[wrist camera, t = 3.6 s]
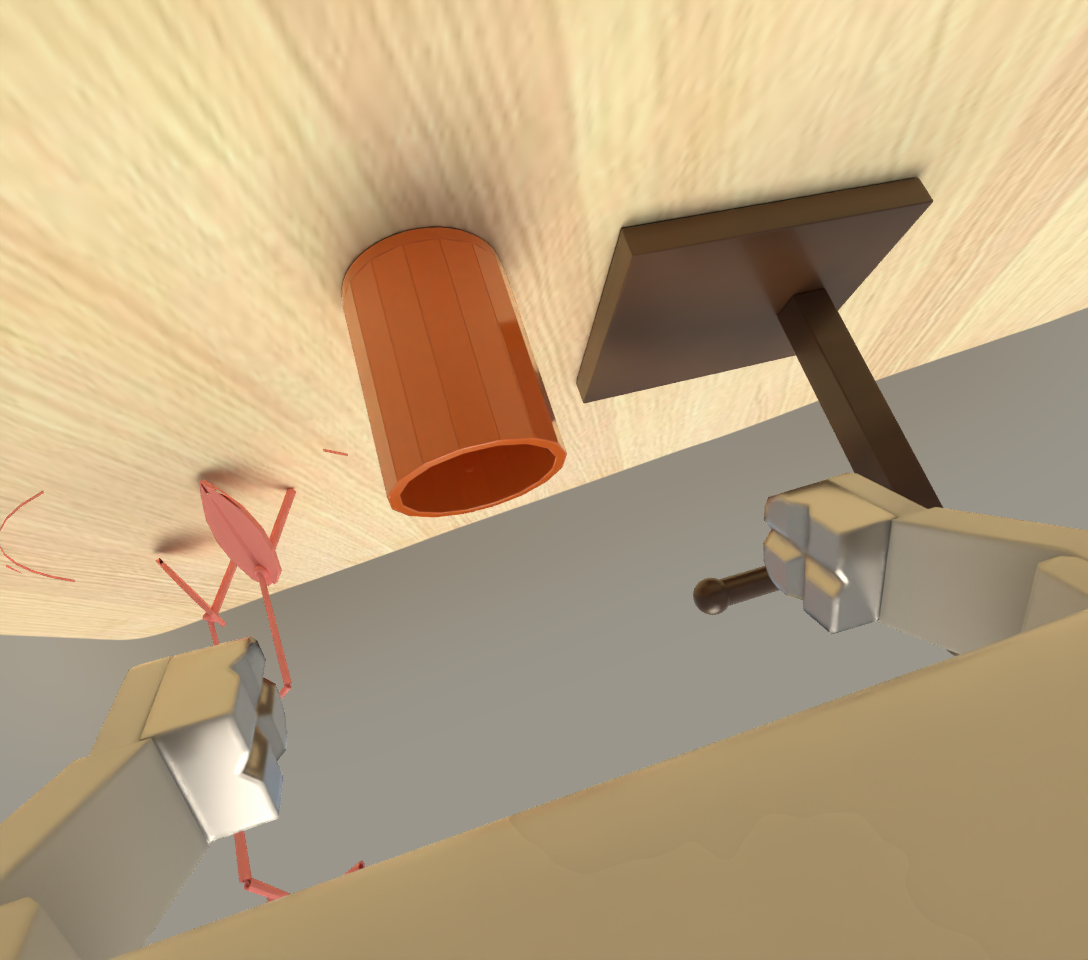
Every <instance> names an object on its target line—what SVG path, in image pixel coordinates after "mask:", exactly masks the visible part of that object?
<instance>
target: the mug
mask: <svg viewBox="0 0 1088 960" xmlns="http://www.w3.org/2000/svg"><path fill="white" fill-rule="evenodd" d="M342 301H343V309H344V313H345V317H346V322H347V326H348V330H349V335H350V339H351V343H352V348H353V352H354V356H355V361H356V365H357V369H358V373H359V378H360V382H361V386H362V391H363V395H364V399H365V404H366V408H367V412H368V417H369V421H370V425H371V430H372V434H373V438H374V443H375V447H376V451H377V455H378V460H379V464H380V468H381V473H382V477H383V481H384V486H385V490H386V494H387V498H388V500H389V503H390V506H391V508H392V509H393V510H395V511H398V512H400V513H403V514H405V515H408V516H419V517H441V516H449V515H458V514H464V513H469V512H474V511H477V510H481V509H485V508H489V507H492V506H496V505H498V504H501V503H504V502H506V501H509V500H511V499H514V498H516V497H519V496H522V495H524V494H526V493H527V492H529V491H531V490H533V489H534V488H536V487H538V486H540V485H541V484H543V483H545V482H546V481H548V480H549V479H550V478H551V477H552V476H553V475H554V474H556V473H557V472H558V471H559V470H560V469H561V468H562V467H563V464H564V461H565V458H566V455H567V452H566V449H565V446H564V443H563V440H562V437H561V434H560V431H559V428H558V425H557V422H556V419H555V416H554V414H553V411H552V408H551V405H550V402H549V399H548V396H547V393H546V390H545V387H544V384H543V381H542V378H541V375H540V372H539V369H538V366H537V363H536V360H535V358H534V355H533V352H532V349H531V346H530V343H529V340H528V337H527V334H526V331H525V328H524V325H523V322H522V319H521V316H520V313H519V310H518V307H517V305H516V302H515V299H514V296H513V293H512V290H511V287H510V284H509V281H508V278H507V275H506V273H505V271H504V270H503V267H502V264H501V261H500V259H499V257H498V255H497V253H496V252H495V251H494V249H493V248H492V247H491V246H490V245H489V244H488V243H487V242H485V241H484V240H482V239H481V238H479V237H477V236H475V235H473V234H471V233H468V232H465V231H462V230H457V229H452V228H442V227H433V228H421V229H414V230H410V231H405V232H402V233H399V234H396V235H393V236H391V237H388V238H386V239H383V240H382V241H380V242H378V243H376V244H374V245H373V246H371V247H370V248H369V249H367V250H366V251H364V252H363V253H362V254H361V255H360V256H359V257H358V258H357V259H356V260H355V261H354V262H353V264H352V265H351V266H350V268H349V269H348V271H347V273H346V275H345V278H344V280H343V284H342Z"/></svg>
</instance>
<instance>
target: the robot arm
mask: <svg viewBox="0 0 1088 960" xmlns="http://www.w3.org/2000/svg"><path fill="white" fill-rule="evenodd" d="M764 521H765V522H766V523H767V524H768V525H769V526H770V527H771V529H772V530H771V532H770V533H769V535H768V537H767V538H766V540H765V542H764V543H763V544H764V563H765V566H766V569H767V572H768V574H769V577H770V578H771V580H772V581H773V582H774V584H775V585H776V587H778V588H779V589H780V590H781V591H782V592H783V593H784V594H785V595H788V596H791V597H795V598H798V599H801V600H803V609H804V611H805V612H806V613H807V614H809V615H810V616H811V617H812V618H813V619H814V620H816V621H817V622H818V623H819V624H820V625H821V626H823V627H824V628H825V629H826V630H827V631H828V632H830V633H831V634H835V633H838V632H841V631H845V630H848V629H851V628H855V627H858V626H861V625H865V624H868V623H872V622H875V621H878V620H879V623H881V624H884V625H886V626H889V627H891V628H894V629H896V630H899V631H902V632H904V633H906V634H909V635H912V636H914V637H917V638H919V639H922V640H924V641H927V642H929V643H932V644H934V645H937V646H940V647H942V648H945V649H947V650H950V651H952V652H955V653H957V654H960V655H958V656H955V657H952V658H949V659H947V660H944V661H941V662H938V663H935V664H933V665H930V666H927V667H924V668H921V669H919V670H916V671H913V672H910V673H907V674H904V675H902V676H899V677H896V678H893V679H890V680H888V681H885V682H882V683H879V684H876V685H874V686H871V687H868V688H865V689H862V690H860V691H857V692H854V693H851V694H848V695H845V696H843V697H840V698H837V699H834V700H831V701H829V702H826V703H823V704H820V705H818V706H815V707H812V708H809V709H806V710H803V711H801V712H798V713H795V714H792V715H789V716H786V717H784V718H781V719H778V720H775V721H772V722H770V723H767V724H764V725H761V726H758V727H756V728H753V729H750V730H747V731H745V732H742V733H739V734H736V735H733V736H731V737H728V738H726V739H723V740H719V741H717V742H714V743H711V744H708V745H706V746H703V747H700V748H697V749H694V750H692V751H689V752H686V753H683V754H681V755H678V756H675V757H672V758H669V759H667V760H664V761H661V762H658V763H656V764H653V765H650V766H647V767H645V768H642V769H639V770H636V771H633V772H630V773H628V774H625V775H622V776H619V777H617V778H614V779H611V780H608V781H606V782H603V783H600V784H597V785H594V786H592V787H589V788H586V789H583V790H581V791H578V792H575V793H572V794H569V795H567V796H564V797H561V798H559V799H555V800H553V801H550V802H547V803H545V804H541V805H539V806H536V807H533V808H530V809H528V810H525V811H522V812H519V813H516V814H514V815H511V816H508V817H505V818H502V819H500V820H497V821H494V822H491V823H488V824H486V825H483V826H480V827H477V828H474V829H472V830H469V831H466V832H463V833H460V834H458V835H455V836H452V837H449V838H447V839H444V840H441V841H438V842H435V843H432V844H430V845H427V846H424V847H421V848H418V849H416V850H413V851H410V852H407V853H404V854H402V855H399V856H396V857H393V858H391V859H388V860H385V861H382V862H379V863H376V864H374V865H371V866H368V867H365V868H362V869H360V870H357V871H354V872H351V873H348V874H346V875H343V876H340V877H337V878H334V879H332V880H329V881H326V882H323V883H320V884H318V885H315V886H312V887H309V888H307V889H304V890H301V891H298V892H296V893H292V894H290V895H287V896H284V897H281V898H278V899H276V900H273V901H270V902H267V903H265V904H262V905H259V906H256V907H253V908H250V909H248V910H245V911H242V912H239V913H236V914H234V915H231V916H228V917H226V918H223V919H220V920H217V921H214V922H211V923H208V924H206V925H203V926H200V927H197V928H194V929H192V930H189V931H186V932H183V933H180V934H178V935H175V936H172V937H169V938H167V939H164V940H161V941H158V942H155V943H152V944H150V945H147V946H144V944H145V943H146V941H147V940H148V938H149V936H150V935H151V934H152V932H153V931H154V929H155V927H156V926H157V925H158V923H159V922H160V920H161V918H162V917H163V915H164V914H165V913H166V911H167V910H168V908H169V907H170V905H171V904H172V902H173V901H174V899H175V897H176V896H177V895H178V893H179V891H180V890H181V889H182V887H183V886H184V884H185V883H186V881H187V879H188V878H189V877H190V875H191V874H192V872H193V871H194V869H195V868H196V866H197V865H198V863H199V862H200V860H201V859H202V857H203V856H204V854H205V853H206V851H207V850H208V848H209V844H208V843H210V842H213V841H216V840H219V839H221V838H224V837H227V836H230V835H232V834H235V833H238V832H241V831H244V830H246V829H249V828H252V827H255V826H258V825H260V824H263V823H266V822H268V821H271V820H274V819H277V818H279V810H280V801H281V792H282V782H283V775H282V772H281V770H280V768H279V765H278V763H277V761H278V759H279V758H280V757H281V755H282V754H283V753H284V752H285V751H286V739H287V730H286V719H285V712H284V708H283V704H282V701H281V697H280V694H279V692H278V689H277V687H276V684H275V683H273V682H271V681H269V680H267V679H265V678H263V674H264V667H265V661H266V659H265V657H264V655H263V653H262V650H261V648H260V646H259V644H258V641H257V640H255V639H254V638H253V637H252V636H250V637H246V638H242V639H238V640H234V641H230V642H226V643H222V644H218V645H214V646H210V647H206V648H202V649H198V650H195V651H191V652H186V653H182V654H178V655H176V656H169V657H166V658H162V659H159V660H155V661H151V662H148V663H144V664H141V665H137V666H135V667H134V668H132V669H130V670H129V671H128V672H127V674H126V676H125V679H124V681H123V683H122V685H121V687H120V689H119V692H118V694H117V696H116V698H115V700H114V703H113V705H112V707H111V709H110V711H109V713H108V715H107V718H106V720H105V722H104V724H103V726H102V728H101V730H100V732H99V735H98V737H97V739H96V741H95V743H94V746H93V748H92V750H91V752H90V755H89V756H87V757H84V758H80V759H77V760H75V761H73V762H72V763H71V764H70V765H69V766H68V767H66V768H65V769H64V770H63V771H62V772H61V773H59V774H58V775H57V776H56V777H55V778H54V779H52V780H51V781H50V782H49V783H48V784H46V786H44V787H43V788H42V789H41V790H40V791H38V792H37V793H36V794H35V795H34V796H32V797H31V798H30V799H29V800H28V801H27V802H25V803H24V804H23V805H22V806H21V807H20V808H18V809H17V810H16V811H15V812H14V813H13V814H12V815H10V816H9V817H8V818H7V819H6V820H4V821H3V822H2V823H1V824H0V960H1088V530H1082V529H1075V528H1069V527H1062V526H1056V525H1050V524H1043V523H1037V522H1030V521H1024V520H1017V519H1011V518H1004V517H997V516H991V515H985V514H978V513H972V512H965V511H959V510H952V509H945V508H939V507H934V508H930V509H926V508H924V507H922V506H920V505H918V504H916V503H914V502H912V501H910V500H909V499H907V498H905V497H903V496H901V495H899V494H897V493H895V492H893V491H891V490H889V489H887V488H885V487H883V486H881V485H879V484H877V483H875V482H873V481H871V480H869V479H867V478H865V477H863V476H861V475H859V474H857V473H845V474H842V475H839V476H835V477H832V478H829V479H826V480H823V481H820V482H817V483H814V484H810V485H807V486H803V487H800V488H797V489H794V490H790V491H787V492H784V493H780V494H777V495H774V496H770V497H768V499H767V502H766V504H765V512H764ZM143 946H144V947H143Z"/></svg>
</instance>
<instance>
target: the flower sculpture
mask: <svg viewBox="0 0 1088 960" xmlns="http://www.w3.org/2000/svg"><path fill="white" fill-rule="evenodd" d="M323 451H325V452H330V453H335V454H340V455H345V456H348V454H346V453H341V452H336V451H331V450H326V449H323ZM216 489H219V488H217V487H216V486H214V485H212V484H211V483H209V482H207V481H206V480H202V481H200V492H201V499H202V503H203V508H204V512H205V517H206V521H207V523H208V525H209V527H210V529H211V531H212V532H213V534H214V536H215V538H216V540H217V542H218V544H219V545H220V546H221V548H222V549H223V550H224V551H225V553H226V554H227V555H228V557H229V558H230V559H231V561H230V563H229V566H228V568H227V571H226V573H225V575H224V578H223V580H222V583H221V585H220V588H219V590H218V593H217V595H216V598H215V600H214V603H213V605H212V608H211V607H210V606H209V605H208V604H207V603H206V602H205V601H204V600H203V599H202V598H201V597H200V596H199V595H198V594H197V593H196V592H195V591H194V590H193V589H192V588H191V587H190V586H189V585H187V584H186V583H185V582H184V581H183V580H182V579H181V578H180V577H179V576H178V575H177V574H176V573H175V572H174V571H173V570H172V569H171V568H170V567H169V566H168V565H166V564H165V563H164V562H163V561H162V560H161V559H160V558H159V559H158V560H156V562H157V563H158V564H159V565H160V566H161V567H162V568H163V569H164V570H165V572H166V573H167V574H168V575H169V576H170V577H171V578H172V579H173V580H174V581H175V582H176V583H177V584H178V585H179V586H180V587H181V588H182V589H183V590H184V591H185V592H186V593H187V594H188V595H189V596H190V597H191V598H192V599H193V600H194V601H195V602H196V603H197V604H198V605H199V606H200V607H201V608H202V609H204V610H205V611H206V612H207V613H205V614H204V615H203V619H204V620H206V621H208V625H209V628H210V632H211V636H212V639H213V643H214V645H218V644H219V641H218V638H217V634H216V630H215V627H214V622H215V621H216V622H217V623H219V624H220V625H221V626H222V627H224V626H225V625H226V623H225V622H224V620H223V619H222V618H221V617H220V616H219V615H218V613H219V610H220V608H221V605H222V603H223V600H224V598H225V595H226V593H227V590H228V588H229V585H230V583H231V580H232V578H233V575H234V573H235V570H236V567H237V566H238V567H239V568H240V569H241V570H243V571H244V572H245V573H246V574H247V575H248V576H249V577H250V578H252V579H253V580H255V581H257V582H260V586H261V591H262V595H263V599H264V603H265V607H266V611H267V616H268V620H269V623H270V628H271V632H272V636H273V641H274V645H275V649H276V653H277V657H278V662H279V666H280V670H281V674H282V678H283V683H284V685H285V686H284V687H283V688H282V690H281V691H280V692H279V694H280V697H281V699H282V698H283V697H284V696H285V695H286V693H287V692H288V691H289V690H290V688H291V685H290V684H291V679H290V675H289V671H288V667H287V663H286V659H285V655H284V652H283V648H282V644H281V640H280V636H279V632H278V628H277V624H276V621H275V617H274V613H273V609H272V605H271V601H270V597H269V593H268V589H267V585H268V586H269V585H270V584H271V583H273V584H275V583H277V582H278V579H279V576H280V574H281V571H282V570H281V567H280V564H279V560H278V557H277V554H276V551H275V549H276V546H277V544H278V541H279V538H280V535H281V533H282V530H283V527H284V524H285V521H286V519H287V516H288V513H289V510H290V508H291V505H292V502H293V499H294V496H295V494H296V491H295V490H293V489H288V490H287V492H286V495H285V498H284V500H283V503H282V506H281V508H280V511H279V514H278V516H277V519H276V522H275V524H274V527H273V530H272V533H271V535H270V538H268V536H267V534H266V533H265V531H264V529H263V528H262V526H261V525H260V524H259V523H258V522H257V521H256V520H255V519H254V518H253V516H252V515H251V514H250V513H249V512H248V511H247V510H246V509H245V508H244V507H243V506H242V505H241V504H240V503H238V502H237V501H235V500H234V499H233V498H231V497H230V496H229V495H227V494H226V493H224V492H223V491H222V490H220V489H219V490H220V491H221V492H222V493H223V494H224V495H223V494H220V493H217V492H216V491H214V490H216ZM206 493H209V494H208V495H207V494H206ZM41 494H43V491H41V492H40V493H38V494H36V495H35V496H33V497H32V498H30V499H28V500H27V501H25V502H23V503H22V504H20V505H19V506H18V507H17V508H16V509H15V510H14V511H13V512H12V513H11V514H10V515H8V516H7V517H6V519H5V521H4V522H3V524H2V526H1V528H0V530H1V529H2V527H3V525H4V523H5V522H6V520H7V519H8V518H9V517H10V516H11V515H12V514H14V513H15V512H16V511H17V510H18V509H19V508H20V507H21V506H23V505H24V504H26V503H28V502H29V501H31V500H33V499H34V498H36V497H38V496H39V495H41ZM225 495H226V496H227V497H226V496H225ZM0 548H1V546H0ZM1 550H2V548H1ZM2 552H3V554H4V555H5V556H6V557H7V558H8V559H9V560H11V561H12V562H13V563H15V564H16V565H18V566H20V567H22V568H24V569H26V570H29V571H31V572H33V573H37V574H40V575H44V576H47V577H50V578H55V579H61V580H66V581H72V582H75V581H74V580H72V579H66V578H61V577H56V576H51V575H47V574H44V573H41V572H37V571H34V570H31V569H29V568H27V567H25V566H23V565H20V564H18V563H16V562H15V561H14V560H12V559H11V558H10V557H9V556H7V555H6V554H5V553H4V551H3V550H2ZM6 567H8V568H10V569H12V570H15V569H13V568H11V567H10V566H8V565H6ZM15 571H17V570H15ZM17 572H18V571H17ZM19 573H20V572H19ZM21 574H22V573H21ZM234 837H235V846H236V855H237V864H238V873H239V882H240V883H243V882H245V885H244V888H245V890H247V891H250V892H253V893H256V894H259V895H262V896H265V897H267V900H268V901H267V902H270V901H273V900H276V899H278V898H281V897H284V896H287V895H290V893H287V892H285V891H282V890H280V889H277V888H275V887H273V886H270V885H268V884H266V883H263V882H261V881H258V880H256V879H254V878H252V877H251V871H250V864H249V859H248V852H247V846H246V840H245V834H244V831H241V832H238V833H235V834H234ZM362 868H365V866H364V862H363V861H360V862H359V863H358V864H356V865H355V866H354V867H353V868H351V869H350V870H349V871H348V872H346V873H345V874H344V875H346V874H348V873H351V872H354V871H357V870H360V869H362ZM267 902H266V903H267Z"/></svg>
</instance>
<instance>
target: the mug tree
mask: <svg viewBox="0 0 1088 960" xmlns="http://www.w3.org/2000/svg"><path fill="white" fill-rule="evenodd" d="M932 202H933V199H932V198H931V196H930V195H929V193H928V192H927V190H926V188H925V187H924V185H923V184H922V182H921V181H920V179H919V178H913V179H907V180H901V181H895V182H889V183H884V184H878V185H872V186H866V187H860V188H855V189H849V190H843V191H837V192H831V193H826V194H820V195H814V196H808V197H802V198H797V199H791V200H785V201H779V202H773V203H768V204H762V205H756V206H750V207H744V208H739V209H733V210H727V211H721V212H715V213H710V214H704V215H698V216H692V217H686V218H681V219H675V220H669V221H663V222H657V223H652V224H646V225H640V226H634V227H628V228H623V229H622V230H621V233H620V236H619V240H618V243H617V246H616V250H615V253H614V257H613V260H612V263H611V267H610V270H609V274H608V277H607V280H606V284H605V287H604V291H603V294H602V297H601V301H600V304H599V308H598V311H597V314H596V318H595V321H594V325H593V328H592V331H591V335H590V338H589V342H588V345H587V348H586V352H585V355H584V359H583V362H582V365H581V369H580V372H579V376H578V379H577V382H576V384H577V387H578V389H579V392H580V395H581V398H582V401H583V403H588V402H593V401H597V400H601V399H606V398H610V397H615V396H619V395H623V394H628V393H632V392H637V391H641V390H645V389H650V388H654V387H658V386H663V385H667V384H672V383H676V382H680V381H685V380H689V379H694V378H698V377H702V376H707V375H711V374H716V373H720V372H724V371H729V370H733V369H738V368H742V367H746V366H751V365H755V364H759V363H764V362H768V361H773V360H777V359H781V358H786V357H790V356H795V355H796V356H797V358H798V360H799V362H800V364H801V366H802V368H803V370H804V372H805V374H806V376H807V378H808V380H809V382H810V384H811V386H812V388H813V390H814V392H815V394H816V396H817V398H818V400H819V402H820V404H821V406H822V408H823V410H824V412H825V414H826V416H827V418H828V420H829V422H830V424H831V426H832V428H833V430H834V432H835V434H836V436H837V438H838V440H839V442H840V444H841V447H842V448H843V450H844V453H845V455H846V457H847V458H848V461H849V462H850V465H851V467H852V469H853V471H854V473H857V474H859V475H861V476H863V477H865V478H867V479H869V480H871V481H873V482H875V483H877V484H879V485H881V486H883V487H885V488H887V489H889V490H891V491H893V492H895V493H897V494H899V495H901V496H903V497H905V498H907V499H909V500H910V501H912V502H914V503H916V504H918V505H920V506H922V507H924V508H926V509H930V508H934V507H939V508H943V506H942V505H941V503H940V501H939V499H938V497H937V495H936V494H935V492H934V490H933V488H932V486H931V484H930V482H929V480H928V479H927V477H926V475H925V473H924V471H923V469H922V467H921V466H920V464H919V462H918V460H917V458H916V456H915V454H914V453H913V451H912V449H911V447H910V445H909V443H908V441H907V439H906V438H905V436H904V434H903V432H902V430H901V428H900V426H899V424H898V423H897V421H896V419H895V417H894V415H893V413H892V412H891V410H890V408H889V406H888V404H887V402H886V400H885V398H884V397H883V395H882V393H881V391H880V389H879V387H878V385H877V383H876V382H875V380H874V378H873V376H872V374H871V372H870V370H869V369H868V367H867V365H866V363H865V361H864V359H863V357H862V356H861V354H860V352H859V350H858V348H857V346H856V344H855V342H854V341H853V339H852V337H851V335H850V333H849V331H848V329H847V328H846V326H845V324H844V322H843V320H842V318H841V316H840V315H839V313H838V310H839V309H840V308H841V306H842V305H843V304H844V303H845V302H846V301H847V300H848V298H849V297H850V296H851V295H852V294H853V293H854V292H855V290H856V289H857V288H858V287H859V286H860V285H861V284H862V282H863V281H864V280H865V279H866V278H867V277H868V276H869V274H870V273H871V272H872V271H873V270H874V269H875V268H876V266H877V265H878V264H879V263H880V262H881V261H882V260H883V258H884V257H885V256H886V255H887V254H888V253H889V252H890V250H891V249H892V248H893V247H894V246H895V245H896V244H897V242H898V241H899V240H900V239H901V238H902V237H903V236H904V234H905V233H906V232H907V231H908V230H909V229H910V228H911V226H912V225H913V224H914V223H915V222H916V221H917V220H918V218H919V217H920V216H921V215H922V214H923V213H924V212H925V210H926V209H927V208H928V207H929V206H930V205H931V204H932ZM778 590H780V589H779V588H778V587H776V585H775V584H774V582H773V581H772V580H771V578H770V577H769V574H768V572H767V569H766V566H763V567H759V568H756V569H753V570H750V571H746V572H743V573H740V574H736V575H733V576H729V577H726V578H723V579H720V580H719V579H715V578H707V579H704V580H702V581H700V582H699V583H698V584H697V585H696V587H695V589H694V594H693V597H694V602H695V604H696V606H697V607H698V608H699V609H700V610H701V611H702V612H704V613H706V614H710V615H716V614H719V613H722V612H723V611H725V610H726V609H727V607H728V606H729V605H733V604H736V603H739V602H743V601H746V600H749V599H752V598H755V597H759V596H762V595H765V594H768V593H771V592H775V591H778ZM946 650H947V649H946ZM947 651H949V652H950V653H951V654H953V655H954V656H958V655H960V654H957V653H955V652H952V651H950V650H947Z"/></svg>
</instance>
